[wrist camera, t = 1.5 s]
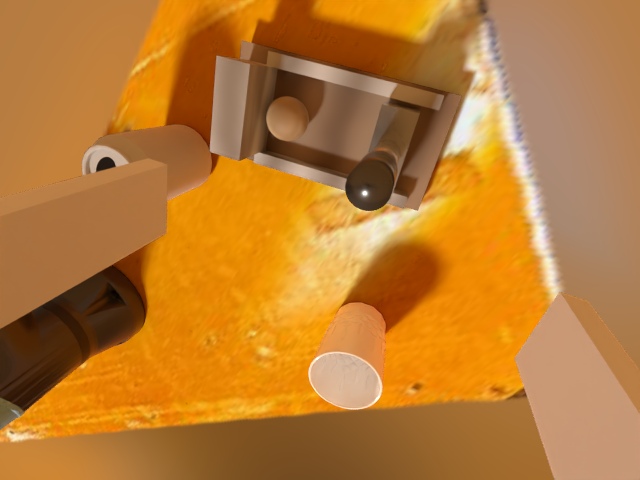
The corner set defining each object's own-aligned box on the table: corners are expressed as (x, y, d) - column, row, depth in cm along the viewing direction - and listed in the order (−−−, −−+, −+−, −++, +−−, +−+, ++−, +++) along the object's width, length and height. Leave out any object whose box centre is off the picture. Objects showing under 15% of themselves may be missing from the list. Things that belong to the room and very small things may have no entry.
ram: (365, 176, 34) (327, 236, 21) (387, 101, 31) (360, 113, 17) (394, 185, 34) (375, 252, 20) (420, 109, 31) (417, 129, 17)
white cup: (347, 286, 43) (328, 338, 34) (402, 318, 43) (397, 379, 34) (320, 327, 47) (297, 383, 38) (371, 357, 46) (359, 420, 38)
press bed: (239, 150, 39) (198, 164, 32) (251, 42, 34) (206, 31, 27) (417, 204, 36) (416, 233, 29) (459, 95, 31) (470, 98, 24)
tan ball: (273, 132, 35) (256, 137, 32) (279, 91, 34) (262, 91, 30) (309, 142, 35) (296, 149, 31) (317, 101, 33) (305, 103, 29)
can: (182, 109, 39) (93, 117, 29) (227, 159, 40) (158, 185, 30) (151, 152, 43) (61, 174, 32) (194, 197, 44) (120, 233, 33)
